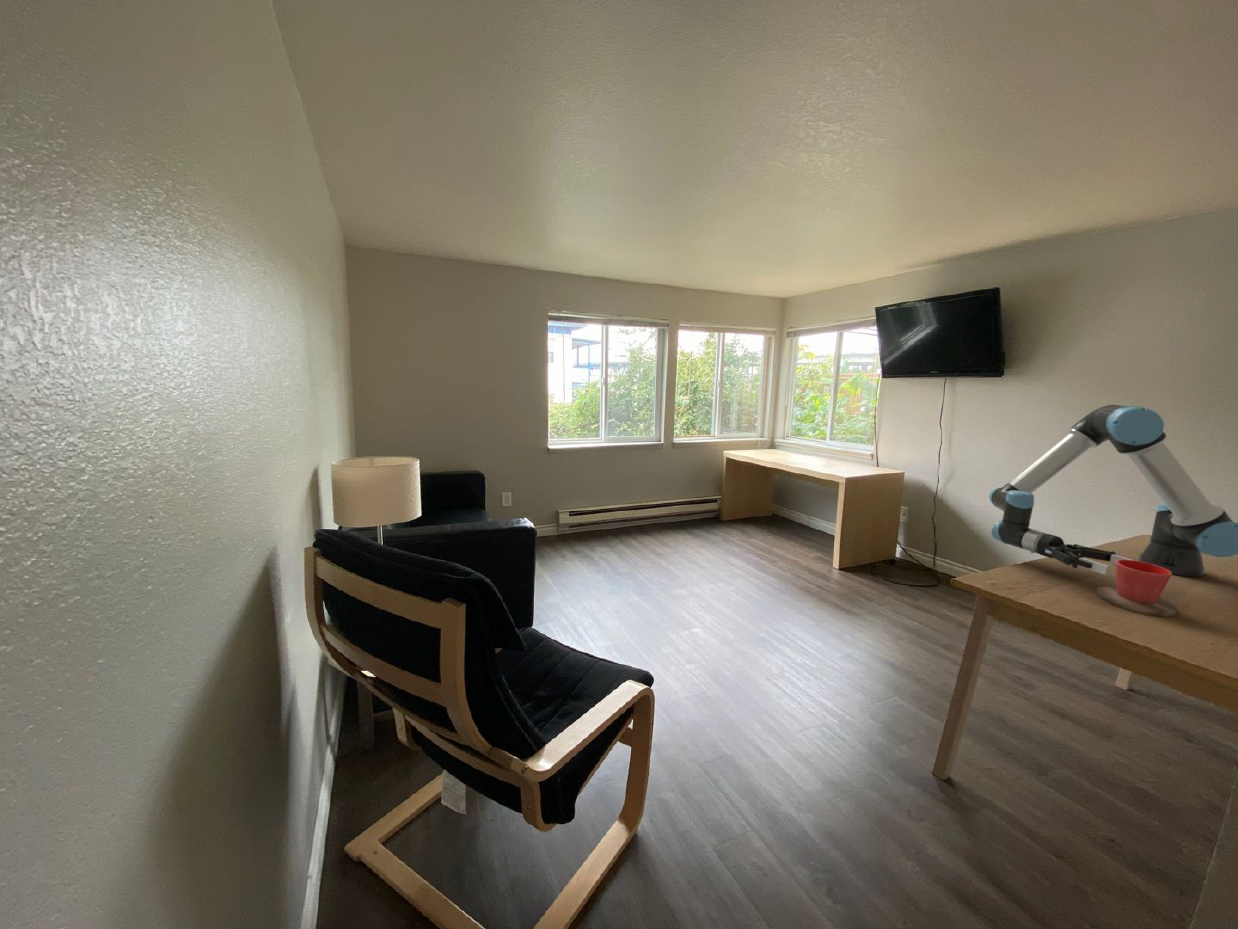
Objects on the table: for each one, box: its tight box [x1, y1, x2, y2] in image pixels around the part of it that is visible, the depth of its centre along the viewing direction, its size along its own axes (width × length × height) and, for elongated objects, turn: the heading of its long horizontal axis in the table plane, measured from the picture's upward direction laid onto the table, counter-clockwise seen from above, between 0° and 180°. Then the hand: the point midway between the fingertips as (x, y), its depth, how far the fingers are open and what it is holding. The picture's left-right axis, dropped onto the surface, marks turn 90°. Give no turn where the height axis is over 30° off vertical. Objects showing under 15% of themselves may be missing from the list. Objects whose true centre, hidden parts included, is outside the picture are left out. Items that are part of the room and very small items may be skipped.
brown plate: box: [1095, 585, 1178, 618], centre depth 139 cm, size 16×16×2 cm
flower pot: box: [1115, 559, 1173, 604], centre depth 138 cm, size 11×11×10 cm
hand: (1122, 568), depth 141 cm, fingers open, 13 cm apart
